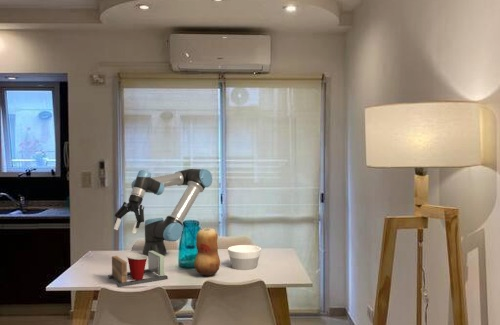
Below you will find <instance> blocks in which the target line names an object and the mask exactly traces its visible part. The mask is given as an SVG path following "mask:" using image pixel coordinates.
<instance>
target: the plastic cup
mask: <svg viewBox="0 0 500 325" xmlns="http://www.w3.org/2000/svg"><path fill="white" fill-rule="evenodd" d="M126 258H127V261H128V262H127V263H128V268H129V272H130V273H131V276H130V277H131V280H132V281H133V280H139V279H144V275H145V274H144V270H145V269H146V263H147V261H148V256H146V255H142V254H136V253H134V254H133V253H132V254H127V255H126Z"/></svg>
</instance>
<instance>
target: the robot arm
mask: <svg viewBox="0 0 500 325" xmlns="http://www.w3.org/2000/svg"><path fill="white" fill-rule="evenodd" d="M212 184H213V175H212V173H211V171H210V170H208V169H207V168H206V169H205V168H201V169H200V168H187V169H183V170H179V171H175V172H174V173H169V174H165V175H158V176H153V177H152V173H151V172H150V171H147V170H144V169H140V170H139V171H138V173H137V174H136V177H135V179H134V180H133V181H132V182H131V193H130V195H129V198H128V203H127V202H126V201H124V202H123V203H122V205H121V206H120V207H119V209H118V210H117V211H116V213H115V214H114V217H115V221H114V226H113V230H116V231H118V230H119V227H120V225H121V222H122V218H123V217H124V216H126V214H128V213H130V212H131V213H134V216H135V219H136V221H135V222H134V225H133V228H132V231H131V234H134V235H136V234H137V232H138V229H139V228H140V225H141V223H144V246H143V247H142V248H143V249H142V254H141V255H146V256H148V253H149V251H155V252H157V253H159V254H161V255H163V256H164V257H165V256H166V255H167V248H166V245H165V242H164V241H166V242H177V241H178V240H180V239H181V237H182V236H181V233H182V231H183V230H184V227H183V226H184V223H183V221H184V220H185V218H186V217H187V215H188V213H189V211H190V210H191V208H192V206H193V204H194V203H195V201H196V199H197V198H198V196H199V194H200V193H203V192H204V191H205V189H206V188H209V187H210V186H212ZM172 186H178V187H179V186H180V187H181V186H187V188H186V189H185V191H184V192H183V193H182V195H181V197H180V199H179V201H178V202H177V204H176V205H175V207H174V209H173V211H172V212H171V214H170V215H167V216H166V217H165V219H164V218H163V217H156V218H149V219H146V220H145V213H144V210H145V206H144V205H142V202H143V198H144V197H145V195H146V193H150V194H154V195H156V196H160V195H162V194H163V193H164V191H165V188H167V187H172ZM182 229H183V230H182Z"/></svg>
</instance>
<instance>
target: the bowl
mask: <svg viewBox="0 0 500 325" xmlns="http://www.w3.org/2000/svg"><path fill="white" fill-rule="evenodd" d="M227 252H228V256H229V259H230V265H231V268H232V269H234V270H238V271H250V270H255V269H257V267H258V263H259V259H260V256H261V252H262V248H261V246H258V245H254V244H238V245H231V246H229V247H228V248H227Z"/></svg>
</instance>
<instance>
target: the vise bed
mask: <svg viewBox="0 0 500 325" xmlns="http://www.w3.org/2000/svg"><path fill="white" fill-rule="evenodd" d="M151 273H154V272H153V271H151V270H149V269H148V268H147V269H146V268H145V270H144V275H146V274H151ZM107 276H108V277H107V278H108V280H112V279H113V280H114V281H116V283H118V284H117V285H118V287H119V288H121V287H129V286H135V285H140V284H145V283H151V282H158V281H165V280H168V278H169V277H168V275H166V274H164V275H162V276H160V275H158V276H152V277H145V278H143V279H139V280H133V279H132V280H128V277H131V273H130V271H128V262H127V261H125V260H124V259H123V258H121V257H119V256H118V255H112V256H111V274H109V275H107ZM127 280H128V281H127Z"/></svg>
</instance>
